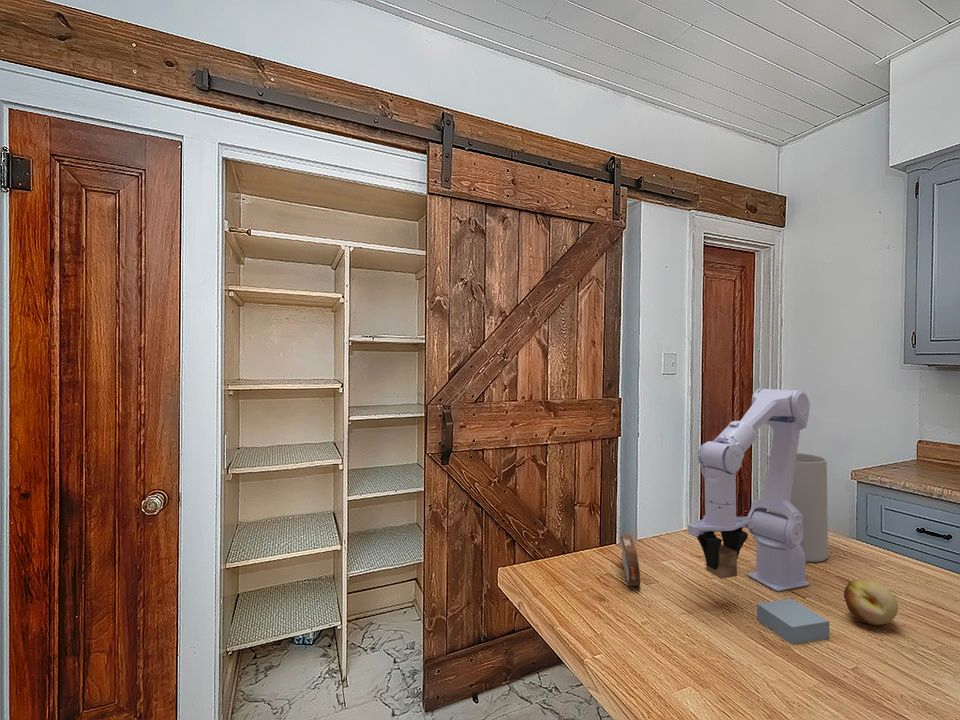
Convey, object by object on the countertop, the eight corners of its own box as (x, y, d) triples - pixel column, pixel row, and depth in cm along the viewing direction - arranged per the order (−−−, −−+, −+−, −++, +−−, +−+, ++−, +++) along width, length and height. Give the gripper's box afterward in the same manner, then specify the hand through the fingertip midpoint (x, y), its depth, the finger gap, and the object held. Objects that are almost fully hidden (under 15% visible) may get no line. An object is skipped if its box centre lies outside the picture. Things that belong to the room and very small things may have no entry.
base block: (791, 616, 91) (791, 598, 91) (829, 640, 83) (829, 621, 83) (757, 621, 89) (756, 603, 89) (792, 646, 81) (792, 627, 81)
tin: (641, 593, 100) (641, 555, 100) (626, 592, 100) (626, 554, 100) (632, 563, 115) (632, 529, 114) (619, 562, 115) (619, 529, 115)
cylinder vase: (777, 539, 128) (776, 450, 127) (832, 552, 118) (831, 457, 118) (763, 552, 119) (761, 457, 119) (822, 568, 110) (820, 465, 110)
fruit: (835, 617, 89) (835, 577, 89) (860, 608, 93) (860, 568, 93) (882, 639, 82) (882, 595, 82) (907, 628, 86) (906, 585, 86)
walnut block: (721, 567, 97) (721, 543, 97) (737, 576, 93) (736, 551, 93) (706, 570, 95) (705, 546, 95) (720, 578, 92) (720, 554, 92)
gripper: (733, 491, 100) (734, 553, 100) (677, 498, 96) (678, 562, 96) (760, 501, 93) (762, 567, 93) (701, 508, 89) (702, 577, 89)
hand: (721, 565), depth 94 cm, fingers closed on walnut block, 4 cm apart
